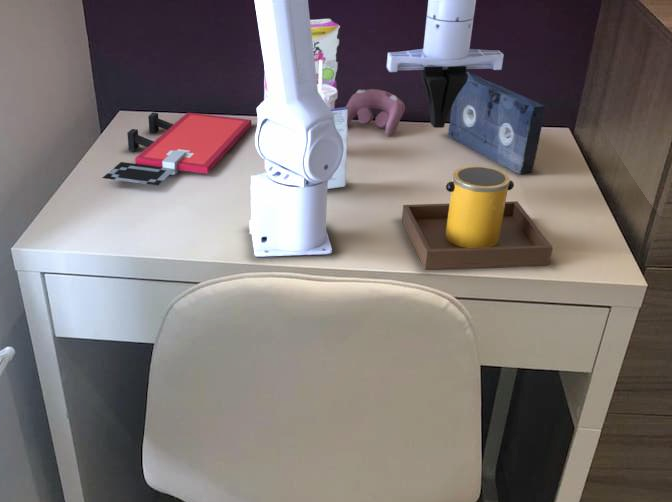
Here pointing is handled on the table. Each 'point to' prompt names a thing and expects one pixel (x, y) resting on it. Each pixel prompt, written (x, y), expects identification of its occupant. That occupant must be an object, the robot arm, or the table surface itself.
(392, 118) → the video game controller
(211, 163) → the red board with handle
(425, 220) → the tray
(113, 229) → the table surface
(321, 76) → the smoothie
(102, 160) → the table surface
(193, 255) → the table surface
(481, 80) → the vhs cassette tape
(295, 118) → the robot arm
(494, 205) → the pot
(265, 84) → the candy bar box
